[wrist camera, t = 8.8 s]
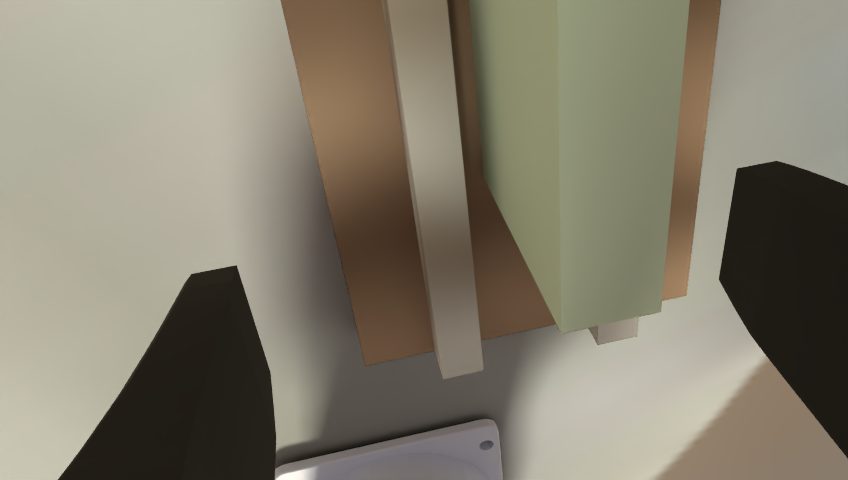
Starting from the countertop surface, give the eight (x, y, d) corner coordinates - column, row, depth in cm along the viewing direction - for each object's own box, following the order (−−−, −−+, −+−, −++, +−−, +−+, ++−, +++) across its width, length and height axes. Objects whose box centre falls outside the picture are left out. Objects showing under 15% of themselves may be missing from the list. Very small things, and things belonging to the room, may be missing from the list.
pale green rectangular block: (559, 162, 19) (660, 311, 15) (483, 177, 19) (561, 333, 14) (554, -191, 15) (703, -144, 10) (454, -175, 14) (555, -119, 10)
